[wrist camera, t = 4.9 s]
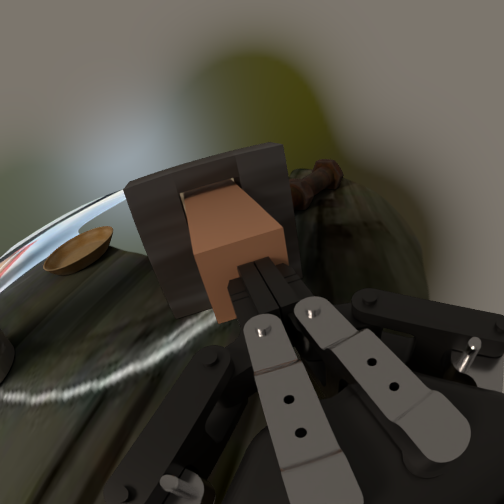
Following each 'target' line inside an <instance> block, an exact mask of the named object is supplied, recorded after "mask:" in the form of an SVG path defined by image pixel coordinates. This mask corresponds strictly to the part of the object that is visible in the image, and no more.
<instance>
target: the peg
mask: <svg viewBox="0 0 504 504" xmlns="http://www.w3.org/2000/svg"><path fill="white" fill-rule="evenodd" d="M183 195H184V202H185V208H186V214H187V220H188V226H189V232H190V238H191V243H192V249H193V254H194V257H195V260H196V263H197V266H198V269H199V272H200V275H201V278H202V280H203V283H204V286H205V289H206V292H207V294H208V297H209V300H210V303H211V305H212V308H213V311H214V313H215V316H216V319H217V321H218V324H220V323H223V322H226V321H229V320H233V319H236V318H237V317H236V314H235V311H234V308H233V305H232V302H231V299H230V296H229V293H228V289H227V287H228V283H229V280H232V279H235V278H238V277H239V274H238V270H237V266H239V265H242V264H246V263H249V262H253V261H255V260H258V259H261V258H264V257H268V256H269V257H270V259H271V260H272V262H273V263H274V264H275V265H278V264H281V263H284V264H286V265H288V266H289V262H288V255H287V249H286V243H285V236H284V230H283V227H282V226H281V225H280V224H279V223H278V222H277V221H276V220H275V219H274V218H273V217H271V216H270V215H269V214H268V213H267V212H266V211H265V210H264V209H263V208H262V207H261V206H260V205H259V204H258V203H256V202H255V201H254V200H253V199H252V198H251V197H250V196H249V195H248V194H247V193H246V192H244V191H243V190H242V189H241V188H240V187H239V186H238V185H237V184H236V183H235V182H233V181H232V180H231V179H228V180H224V181H220V182H217V183H213V184H210V185H206V186H203V187H199V188H196V189H193V190H189V191H186V192H183Z"/></svg>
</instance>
